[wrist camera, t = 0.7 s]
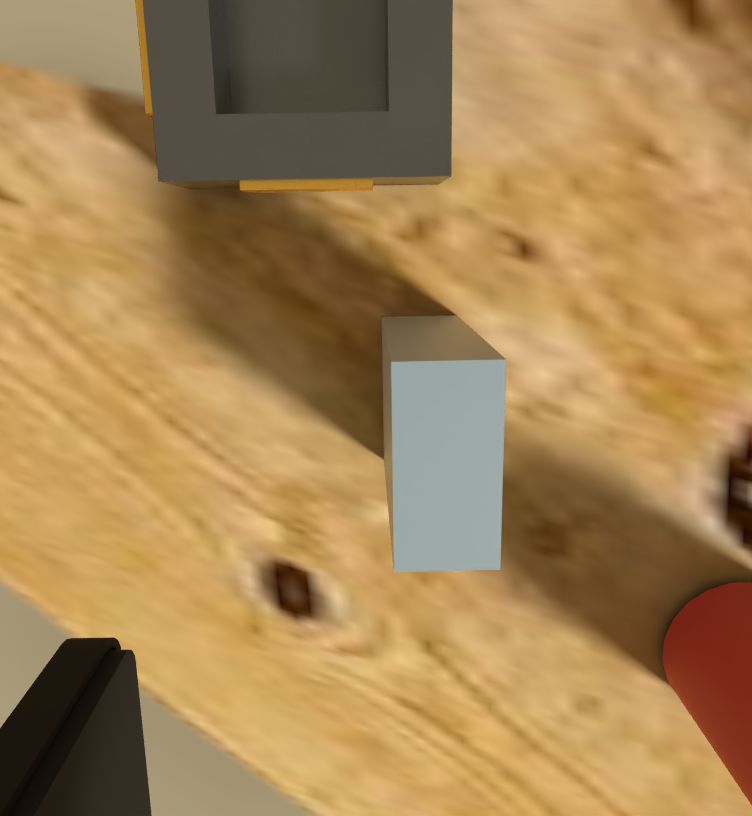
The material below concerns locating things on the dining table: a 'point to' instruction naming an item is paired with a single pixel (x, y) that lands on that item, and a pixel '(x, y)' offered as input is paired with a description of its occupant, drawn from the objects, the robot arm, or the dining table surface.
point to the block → (442, 444)
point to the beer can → (717, 672)
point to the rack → (298, 92)
